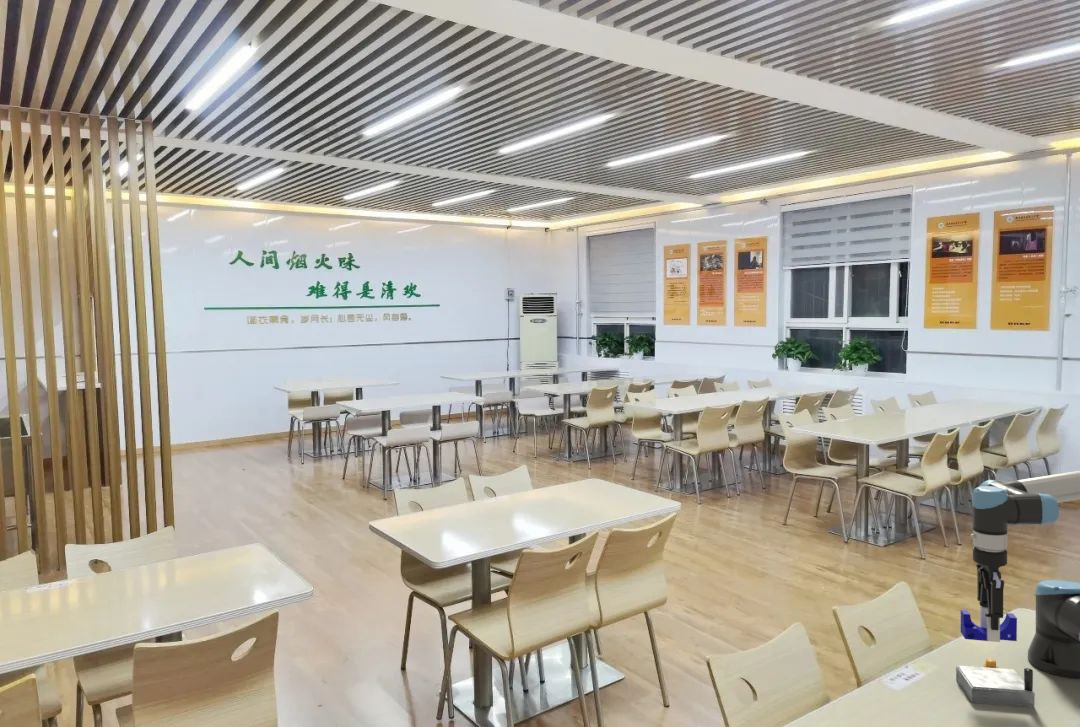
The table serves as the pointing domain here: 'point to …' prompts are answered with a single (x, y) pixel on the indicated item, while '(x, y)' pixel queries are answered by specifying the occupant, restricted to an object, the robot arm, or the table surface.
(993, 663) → the chess pawn
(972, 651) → the table surface
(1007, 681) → the grey square plate
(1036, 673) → the table surface
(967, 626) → the cable clip
